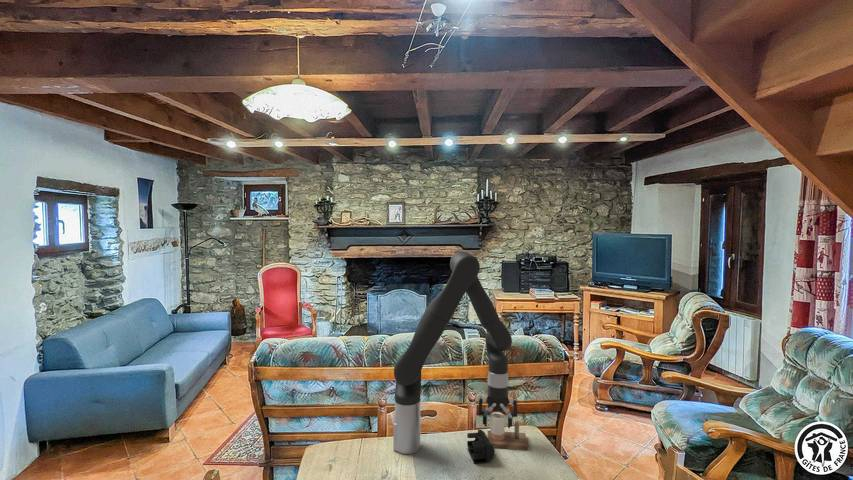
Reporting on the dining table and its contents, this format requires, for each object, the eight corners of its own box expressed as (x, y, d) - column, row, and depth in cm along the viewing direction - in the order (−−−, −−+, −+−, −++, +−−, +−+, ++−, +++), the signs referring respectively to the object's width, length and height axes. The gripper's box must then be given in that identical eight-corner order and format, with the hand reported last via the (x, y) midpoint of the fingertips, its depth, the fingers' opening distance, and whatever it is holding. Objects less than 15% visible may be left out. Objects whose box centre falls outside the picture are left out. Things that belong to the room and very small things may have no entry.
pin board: (488, 447, 141) (488, 427, 141) (487, 434, 150) (487, 415, 150) (528, 450, 139) (528, 430, 139) (524, 436, 148) (525, 417, 148)
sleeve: (490, 439, 143) (491, 418, 143) (490, 432, 148) (490, 411, 148) (504, 440, 143) (505, 419, 142) (503, 433, 148) (503, 412, 147)
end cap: (495, 463, 132) (495, 443, 131) (474, 465, 131) (474, 445, 130) (485, 447, 142) (486, 428, 141) (466, 448, 140) (467, 430, 140)
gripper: (478, 386, 142) (478, 430, 143) (518, 388, 141) (518, 432, 141) (478, 378, 150) (477, 420, 150) (516, 380, 148) (515, 422, 148)
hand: (497, 426), depth 146 cm, fingers open, 8 cm apart
